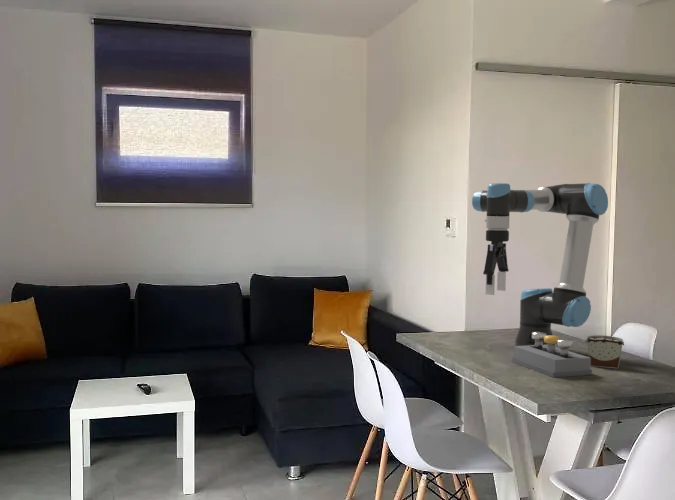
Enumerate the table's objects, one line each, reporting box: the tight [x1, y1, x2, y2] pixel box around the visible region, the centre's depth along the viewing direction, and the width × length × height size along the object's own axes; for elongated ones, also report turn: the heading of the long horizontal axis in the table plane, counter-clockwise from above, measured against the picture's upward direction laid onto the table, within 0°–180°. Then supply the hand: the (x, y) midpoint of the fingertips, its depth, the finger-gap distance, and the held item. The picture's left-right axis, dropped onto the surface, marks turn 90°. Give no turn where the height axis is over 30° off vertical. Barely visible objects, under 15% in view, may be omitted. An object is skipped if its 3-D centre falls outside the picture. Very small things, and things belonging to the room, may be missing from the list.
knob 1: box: [532, 332, 546, 350], centre depth 237 cm, size 5×5×6 cm
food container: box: [585, 334, 625, 369], centre depth 237 cm, size 12×6×10 cm, turn 71°
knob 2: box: [556, 338, 574, 358], centre depth 224 cm, size 5×5×6 cm
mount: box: [511, 345, 593, 378], centre depth 231 cm, size 15×23×6 cm, turn 19°
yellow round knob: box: [544, 334, 560, 355], centre depth 231 cm, size 5×5×6 cm
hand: (495, 292), depth 231 cm, fingers open, 13 cm apart
